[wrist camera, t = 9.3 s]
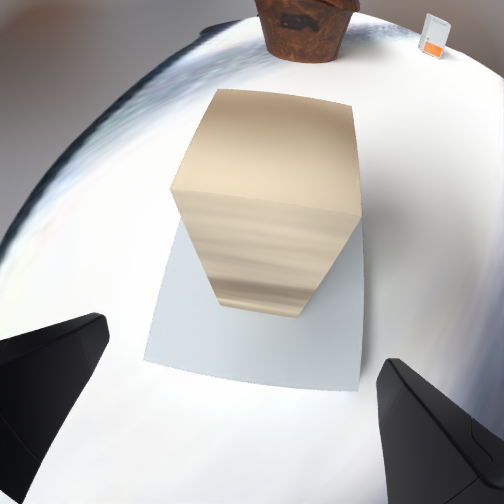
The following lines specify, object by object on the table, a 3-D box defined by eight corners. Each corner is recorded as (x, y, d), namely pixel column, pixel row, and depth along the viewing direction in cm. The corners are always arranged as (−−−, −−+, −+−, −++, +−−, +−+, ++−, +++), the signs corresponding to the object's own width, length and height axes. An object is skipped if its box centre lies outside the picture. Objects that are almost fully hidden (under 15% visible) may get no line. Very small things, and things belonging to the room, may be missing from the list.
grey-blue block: (344, 390, 18) (358, 391, 15) (158, 363, 19) (143, 360, 16) (351, 226, 24) (361, 206, 21) (197, 208, 25) (191, 187, 22)
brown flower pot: (331, 36, 45) (337, -32, 28) (368, 76, 36) (384, -16, 20) (249, 36, 45) (244, -36, 29) (260, 73, 36) (255, -31, 20)
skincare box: (420, 51, 46) (430, 15, 35) (417, 46, 48) (426, 12, 37) (440, 60, 45) (451, 25, 34) (436, 54, 47) (446, 21, 36)
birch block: (296, 318, 17) (361, 216, 7) (220, 305, 18) (169, 188, 7) (305, 248, 20) (351, 106, 9) (235, 237, 20) (217, 88, 9)
